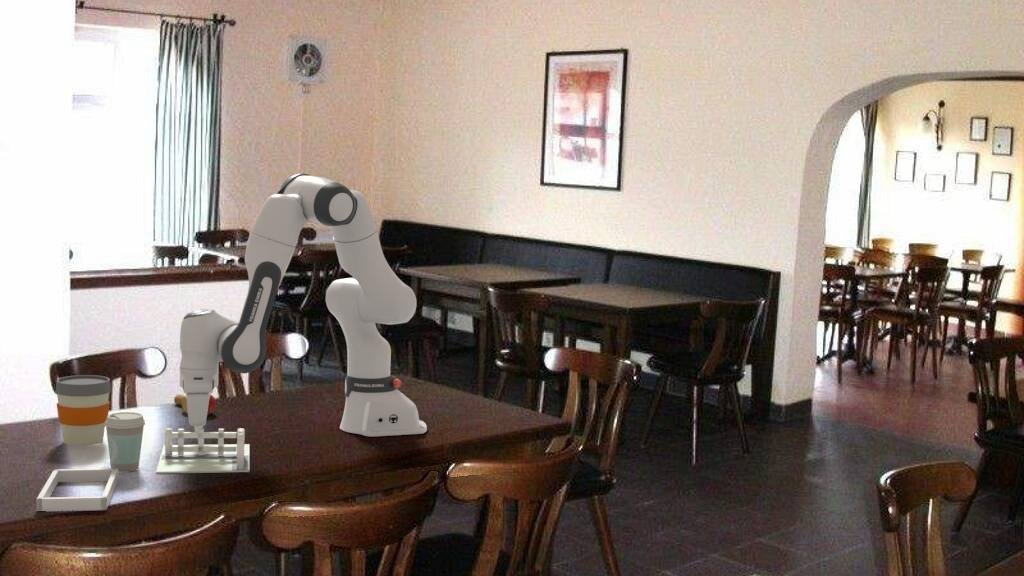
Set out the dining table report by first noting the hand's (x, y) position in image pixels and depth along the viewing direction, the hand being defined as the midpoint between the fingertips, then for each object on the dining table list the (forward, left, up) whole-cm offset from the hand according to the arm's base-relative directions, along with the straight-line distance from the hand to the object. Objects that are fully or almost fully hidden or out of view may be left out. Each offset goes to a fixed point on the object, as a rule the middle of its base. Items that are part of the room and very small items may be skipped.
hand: (198, 436), depth 288 cm
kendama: (+3, -44, -4) cm, 45 cm away
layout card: (-2, +8, -3) cm, 9 cm away
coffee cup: (+15, +16, -4) cm, 22 cm away
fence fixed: (-10, +14, -3) cm, 18 cm away
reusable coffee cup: (+27, -10, -4) cm, 29 cm away
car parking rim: (+22, +36, -3) cm, 42 cm away
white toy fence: (-2, +7, -3) cm, 8 cm away
